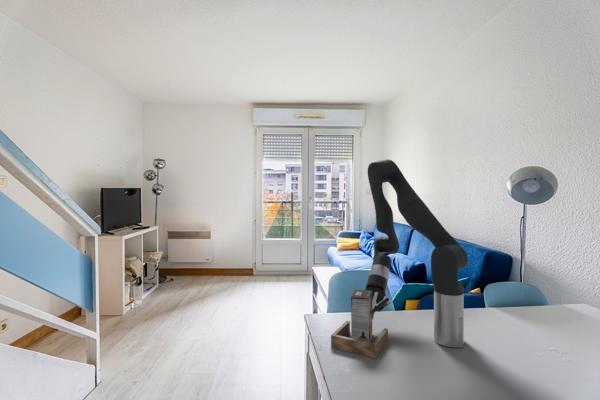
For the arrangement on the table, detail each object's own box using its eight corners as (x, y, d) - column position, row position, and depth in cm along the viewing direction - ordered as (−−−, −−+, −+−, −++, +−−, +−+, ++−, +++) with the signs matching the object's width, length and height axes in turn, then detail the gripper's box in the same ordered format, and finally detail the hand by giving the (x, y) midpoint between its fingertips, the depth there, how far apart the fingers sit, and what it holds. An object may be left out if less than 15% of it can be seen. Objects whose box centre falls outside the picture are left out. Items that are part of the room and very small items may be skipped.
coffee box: (355, 332, 120) (354, 288, 120) (372, 334, 118) (372, 290, 118) (350, 343, 111) (350, 296, 111) (370, 345, 109) (369, 298, 109)
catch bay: (387, 340, 113) (387, 328, 113) (375, 358, 101) (375, 345, 101) (346, 331, 121) (346, 320, 121) (331, 347, 109) (331, 335, 109)
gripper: (359, 271, 130) (348, 312, 120) (393, 275, 123) (384, 319, 113) (364, 281, 135) (353, 321, 125) (396, 285, 128) (388, 328, 118)
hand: (368, 320), depth 119 cm, fingers closed
